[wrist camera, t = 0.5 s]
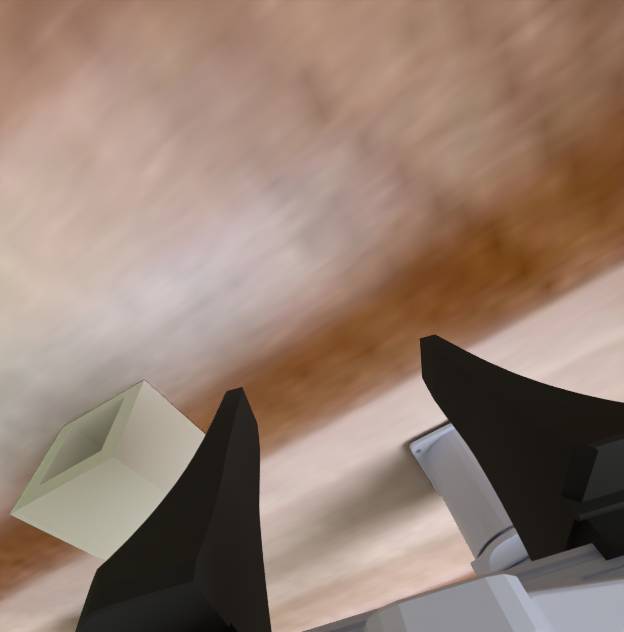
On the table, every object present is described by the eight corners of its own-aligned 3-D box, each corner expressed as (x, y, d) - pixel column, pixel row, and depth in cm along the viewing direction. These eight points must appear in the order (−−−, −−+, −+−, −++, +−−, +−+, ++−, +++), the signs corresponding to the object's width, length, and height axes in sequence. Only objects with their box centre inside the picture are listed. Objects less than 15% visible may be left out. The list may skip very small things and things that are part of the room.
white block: (215, 444, 27) (208, 522, 22) (144, 482, 28) (119, 568, 23) (144, 379, 23) (113, 456, 18) (62, 427, 24) (9, 514, 19)
